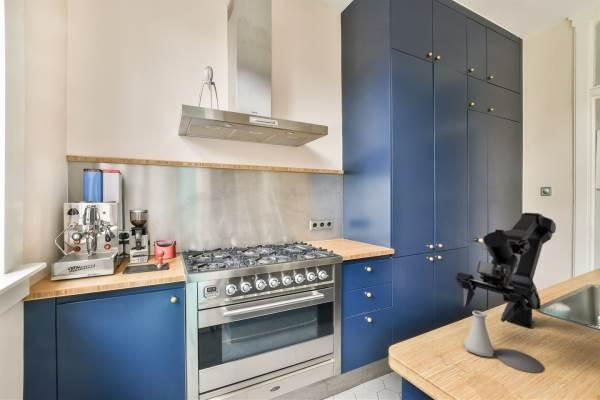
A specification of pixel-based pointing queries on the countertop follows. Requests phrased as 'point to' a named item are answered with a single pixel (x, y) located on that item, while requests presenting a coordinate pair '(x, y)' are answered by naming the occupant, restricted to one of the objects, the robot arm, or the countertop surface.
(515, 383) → the countertop surface
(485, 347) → the flask
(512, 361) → the rubber mat
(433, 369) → the countertop surface
